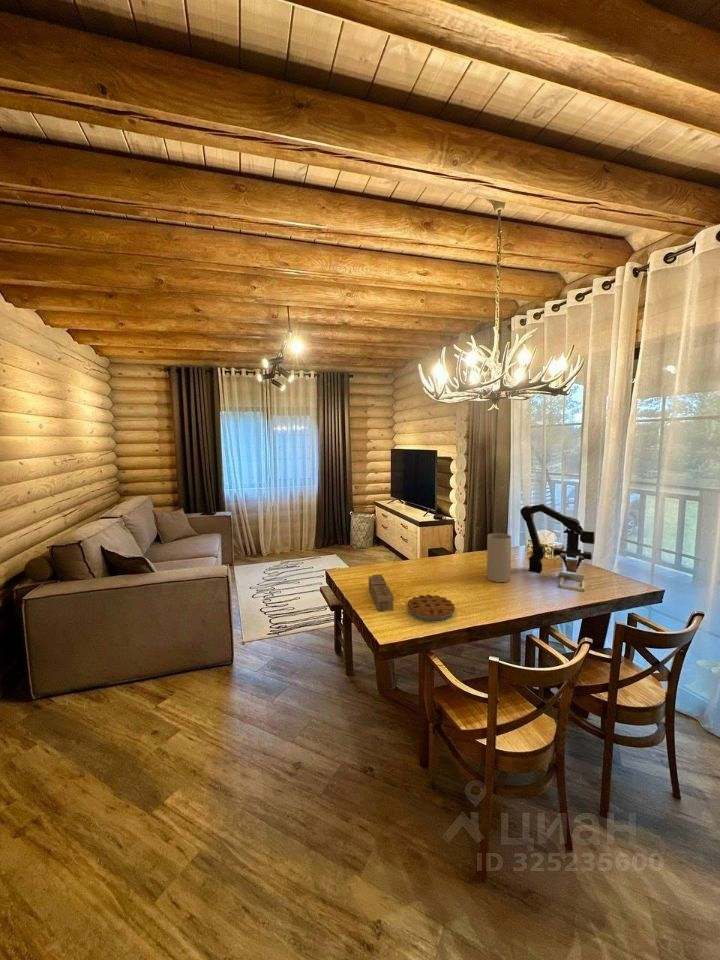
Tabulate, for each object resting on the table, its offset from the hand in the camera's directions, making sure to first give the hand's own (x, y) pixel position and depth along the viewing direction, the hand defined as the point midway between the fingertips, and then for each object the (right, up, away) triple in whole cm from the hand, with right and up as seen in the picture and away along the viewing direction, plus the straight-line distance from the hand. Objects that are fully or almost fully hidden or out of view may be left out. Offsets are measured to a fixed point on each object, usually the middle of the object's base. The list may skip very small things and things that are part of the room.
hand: (571, 568), depth 209 cm
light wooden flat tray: (-6, -7, -10) cm, 14 cm away
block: (0, -2, 0) cm, 2 cm away
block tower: (-110, -11, -22) cm, 113 cm away
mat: (0, -5, +1) cm, 5 cm away
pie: (-87, -12, -38) cm, 96 cm away
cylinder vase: (-41, -6, 0) cm, 42 cm away
